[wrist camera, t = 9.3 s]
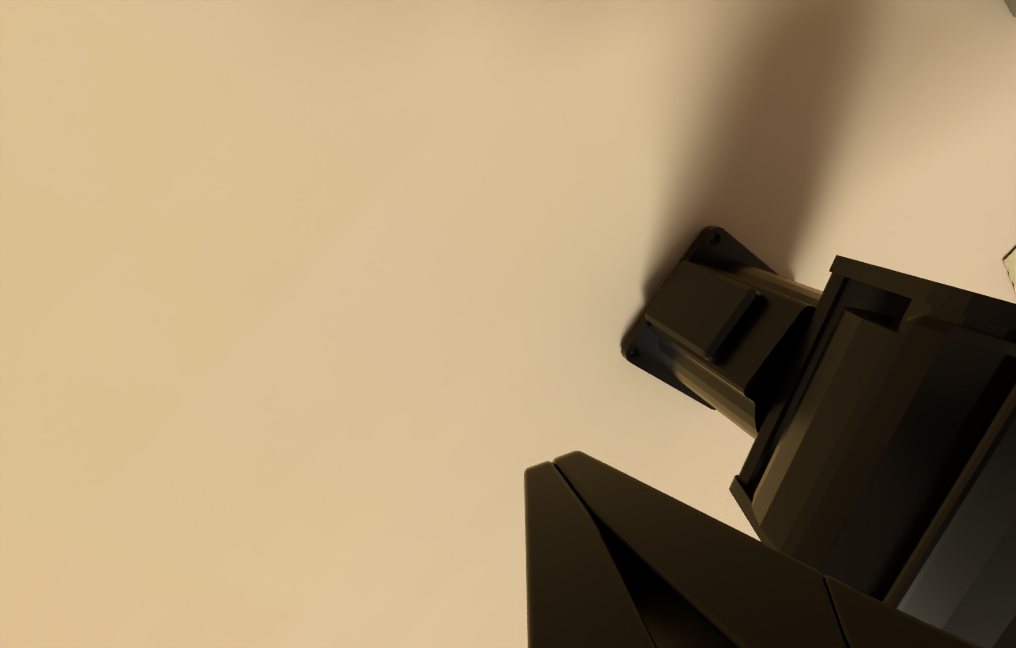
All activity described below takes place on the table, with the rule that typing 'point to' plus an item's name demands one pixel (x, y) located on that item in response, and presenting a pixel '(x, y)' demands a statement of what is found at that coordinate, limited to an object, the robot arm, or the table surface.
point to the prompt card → (1012, 6)
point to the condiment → (1011, 267)
